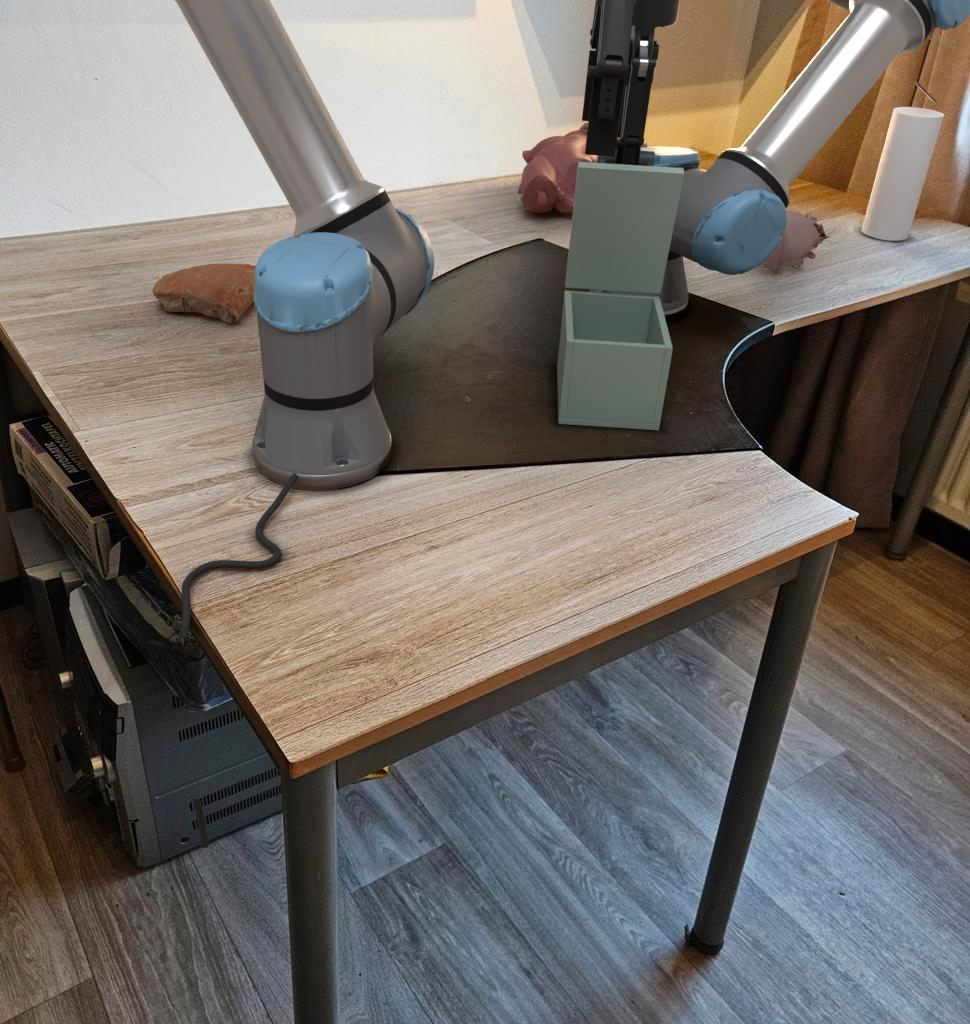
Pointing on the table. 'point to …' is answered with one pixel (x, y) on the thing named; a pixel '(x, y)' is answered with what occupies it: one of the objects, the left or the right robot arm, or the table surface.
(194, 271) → the ceramic shard
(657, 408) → the chest
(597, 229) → the lid
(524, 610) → the table surface
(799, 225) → the toy
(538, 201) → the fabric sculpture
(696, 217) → the right robot arm
